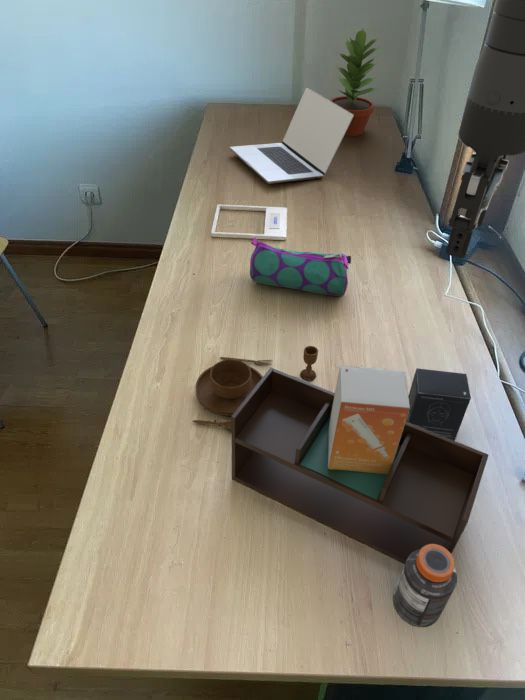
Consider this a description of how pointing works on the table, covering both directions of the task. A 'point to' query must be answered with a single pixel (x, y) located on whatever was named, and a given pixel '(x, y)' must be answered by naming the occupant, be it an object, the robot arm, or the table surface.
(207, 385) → the place setting
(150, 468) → the table surface
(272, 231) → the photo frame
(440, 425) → the box
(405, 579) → the pill bottle
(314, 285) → the pencil case
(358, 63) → the potted plant
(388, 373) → the small box
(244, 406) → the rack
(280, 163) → the laptop
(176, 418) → the table surface
